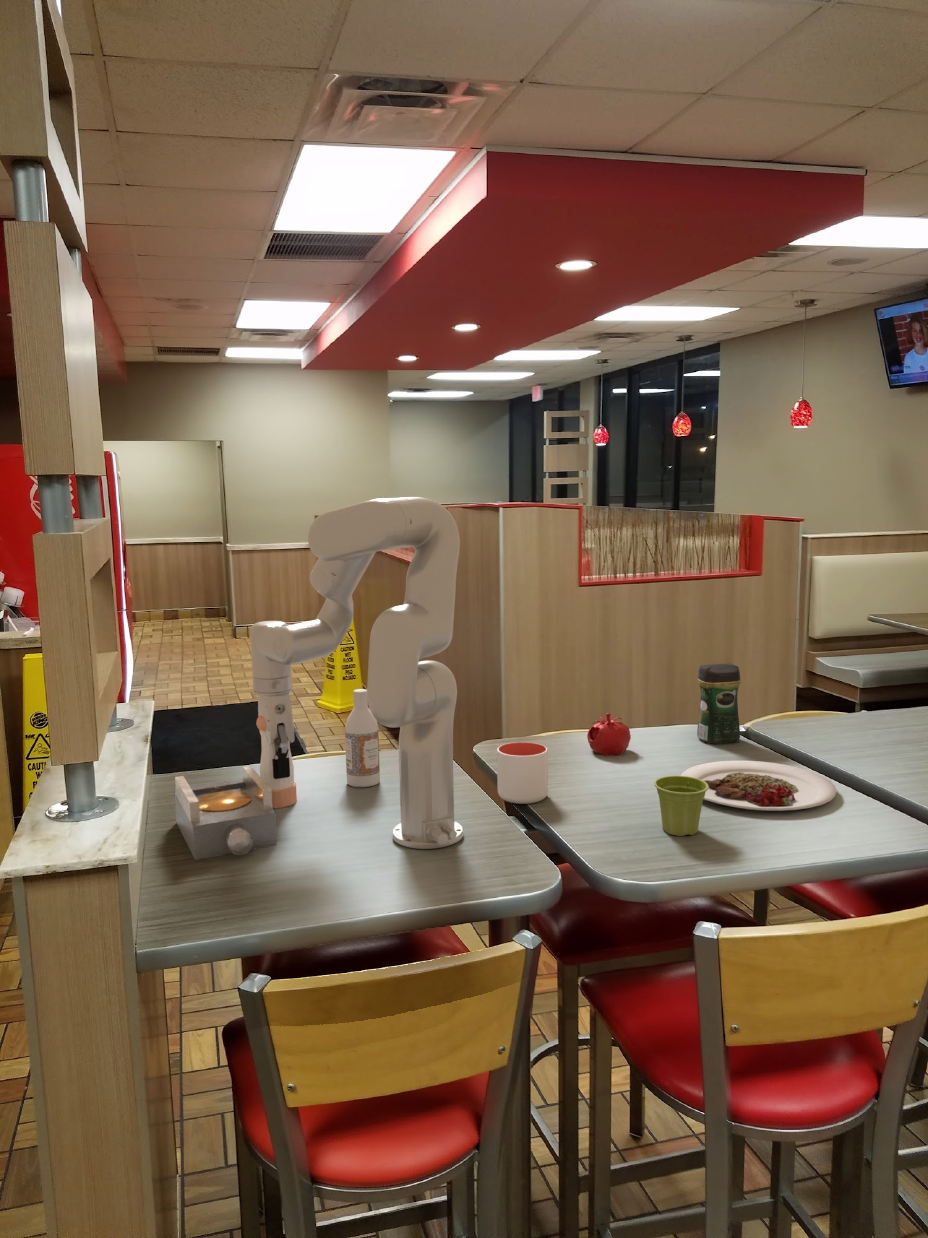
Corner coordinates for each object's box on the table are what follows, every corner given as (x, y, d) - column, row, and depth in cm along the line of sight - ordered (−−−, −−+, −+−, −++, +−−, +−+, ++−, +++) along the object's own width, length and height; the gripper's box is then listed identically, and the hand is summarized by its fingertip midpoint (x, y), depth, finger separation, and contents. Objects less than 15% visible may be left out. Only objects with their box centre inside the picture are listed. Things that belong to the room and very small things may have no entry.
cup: (517, 786, 192) (516, 739, 191) (557, 795, 186) (557, 747, 184) (487, 799, 184) (486, 750, 183) (528, 809, 178) (528, 759, 177)
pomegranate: (633, 747, 218) (633, 708, 217) (627, 759, 209) (627, 719, 208) (591, 744, 221) (591, 706, 220) (583, 756, 212) (583, 716, 211)
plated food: (744, 760, 207) (744, 746, 207) (867, 796, 183) (868, 779, 182) (648, 787, 190) (648, 771, 190) (770, 830, 166) (770, 812, 165)
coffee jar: (728, 734, 227) (730, 659, 225) (744, 743, 220) (746, 666, 217) (691, 737, 226) (693, 662, 223) (706, 746, 218) (707, 668, 215)
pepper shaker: (270, 811, 180) (265, 714, 177) (253, 801, 185) (248, 708, 183) (303, 802, 184) (299, 708, 182) (285, 793, 190) (281, 702, 187)
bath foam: (360, 790, 191) (357, 695, 188) (340, 783, 196) (336, 690, 193) (386, 782, 196) (383, 690, 193) (366, 775, 201) (363, 685, 198)
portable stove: (282, 853, 159) (280, 799, 158) (199, 869, 153) (195, 814, 152) (250, 810, 181) (248, 763, 179) (176, 822, 175) (173, 774, 173)
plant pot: (713, 826, 168) (714, 780, 166) (698, 844, 160) (699, 795, 158) (663, 817, 172) (664, 772, 171) (646, 834, 164) (646, 787, 163)
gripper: (303, 690, 175) (307, 782, 178) (279, 674, 191) (284, 758, 193) (264, 695, 172) (269, 788, 175) (243, 678, 188) (248, 764, 190)
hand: (276, 772), depth 184 cm, fingers closed on pepper shaker, 6 cm apart
